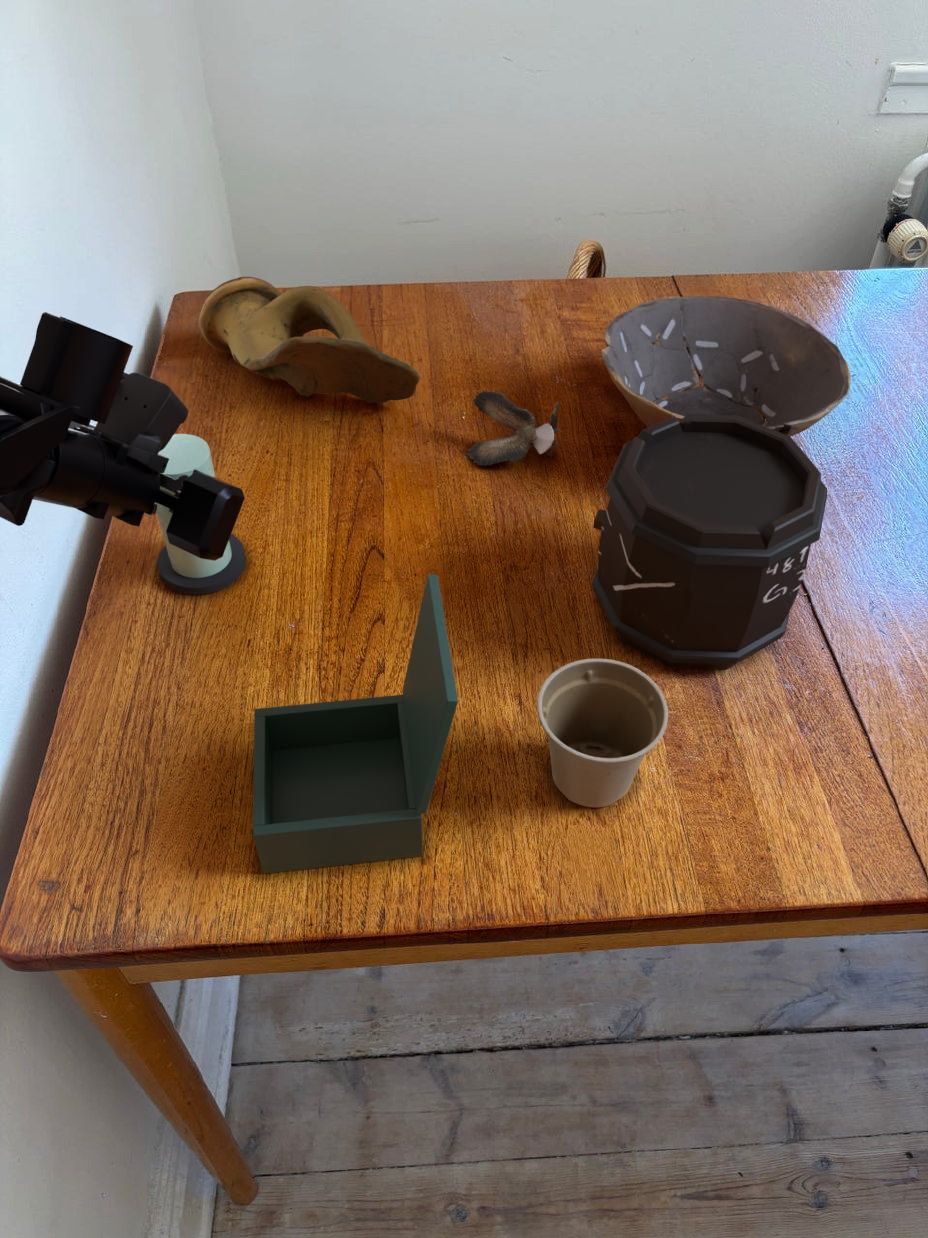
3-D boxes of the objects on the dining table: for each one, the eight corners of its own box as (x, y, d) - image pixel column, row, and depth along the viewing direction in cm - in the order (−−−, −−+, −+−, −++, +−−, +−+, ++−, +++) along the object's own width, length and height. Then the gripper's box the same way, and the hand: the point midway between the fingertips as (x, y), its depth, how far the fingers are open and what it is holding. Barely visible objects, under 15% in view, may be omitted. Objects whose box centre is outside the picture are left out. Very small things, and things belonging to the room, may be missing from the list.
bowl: (861, 497, 102) (893, 415, 95) (626, 520, 100) (640, 437, 92) (772, 361, 119) (793, 283, 112) (568, 377, 117) (577, 298, 109)
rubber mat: (167, 604, 91) (164, 596, 90) (153, 547, 96) (151, 539, 96) (254, 583, 93) (252, 575, 92) (236, 528, 98) (235, 520, 98)
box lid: (447, 701, 61) (458, 701, 61) (427, 573, 68) (437, 574, 69) (416, 814, 70) (426, 814, 70) (402, 690, 77) (411, 690, 77)
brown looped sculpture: (235, 412, 99) (168, 277, 109) (282, 485, 110) (217, 357, 121) (401, 323, 100) (318, 199, 110) (431, 405, 111) (353, 285, 122)
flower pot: (550, 839, 75) (559, 772, 69) (516, 739, 81) (522, 669, 75) (668, 814, 77) (688, 747, 70) (626, 718, 83) (641, 648, 77)
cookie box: (263, 874, 73) (252, 835, 69) (263, 749, 80) (254, 708, 76) (423, 856, 74) (421, 817, 70) (408, 735, 81) (406, 693, 78)
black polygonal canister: (611, 520, 100) (633, 384, 88) (795, 564, 96) (843, 428, 84) (560, 647, 88) (577, 510, 77) (768, 704, 84) (818, 568, 73)
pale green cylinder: (213, 584, 92) (189, 480, 83) (159, 570, 93) (129, 466, 84) (242, 544, 95) (221, 441, 86) (189, 531, 96) (163, 428, 88)
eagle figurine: (550, 415, 110) (469, 402, 108) (568, 390, 103) (482, 376, 101) (544, 482, 108) (462, 470, 107) (563, 461, 101) (475, 448, 100)
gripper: (207, 407, 72) (315, 451, 86) (23, 332, 78) (153, 384, 93) (153, 552, 73) (269, 571, 88) (-24, 466, 80) (112, 497, 94)
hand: (200, 501), depth 91 cm, fingers closed on pale green cylinder, 6 cm apart
